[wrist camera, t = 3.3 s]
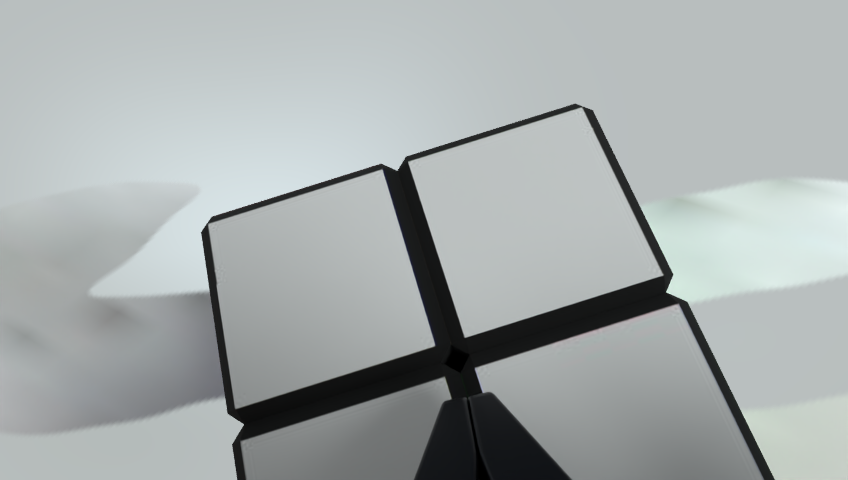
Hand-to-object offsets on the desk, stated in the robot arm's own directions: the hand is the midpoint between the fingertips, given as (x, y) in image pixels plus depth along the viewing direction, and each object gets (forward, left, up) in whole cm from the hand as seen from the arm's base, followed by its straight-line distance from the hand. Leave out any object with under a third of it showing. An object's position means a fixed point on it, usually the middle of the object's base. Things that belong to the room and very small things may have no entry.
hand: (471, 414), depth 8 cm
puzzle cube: (+1, +1, -12) cm, 12 cm away
